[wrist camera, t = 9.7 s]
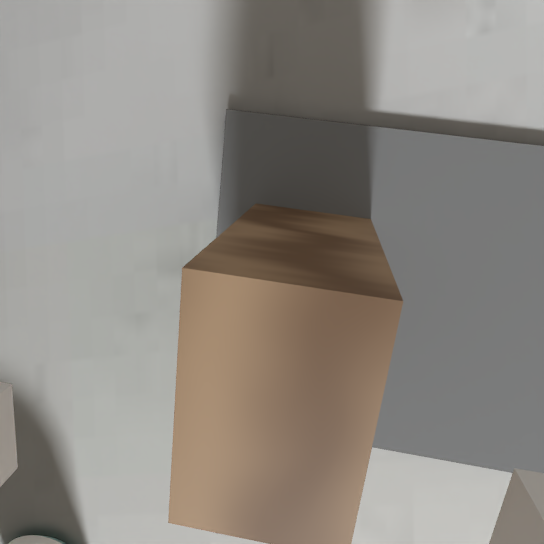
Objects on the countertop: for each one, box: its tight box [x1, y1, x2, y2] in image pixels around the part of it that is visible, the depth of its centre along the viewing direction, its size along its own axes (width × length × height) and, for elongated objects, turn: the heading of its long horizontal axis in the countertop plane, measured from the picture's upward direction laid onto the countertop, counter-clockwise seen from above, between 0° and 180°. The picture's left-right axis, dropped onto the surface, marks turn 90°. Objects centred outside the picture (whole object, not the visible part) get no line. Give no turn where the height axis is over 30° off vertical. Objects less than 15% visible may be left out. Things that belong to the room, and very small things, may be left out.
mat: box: [216, 109, 544, 473], centre depth 25 cm, size 22×18×1 cm
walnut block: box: [168, 204, 403, 544], centre depth 19 cm, size 6×9×12 cm, turn 174°
